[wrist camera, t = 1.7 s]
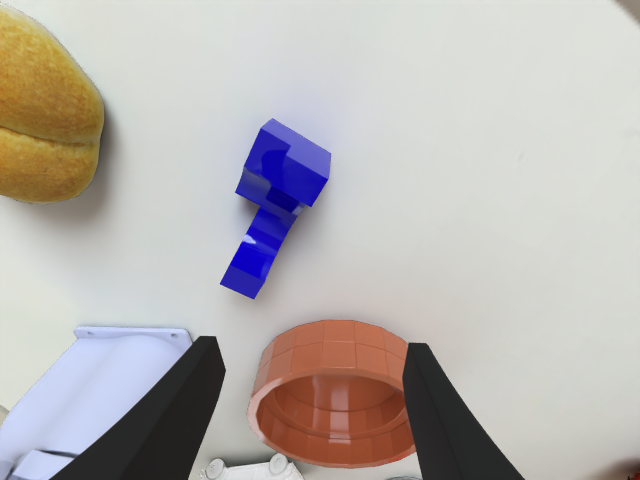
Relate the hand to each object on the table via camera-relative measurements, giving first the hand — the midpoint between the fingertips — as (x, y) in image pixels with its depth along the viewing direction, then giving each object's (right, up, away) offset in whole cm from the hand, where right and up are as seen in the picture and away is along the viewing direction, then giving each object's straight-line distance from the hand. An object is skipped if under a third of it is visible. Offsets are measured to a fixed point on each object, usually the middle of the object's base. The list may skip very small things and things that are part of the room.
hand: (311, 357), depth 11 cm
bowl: (+2, -7, +14) cm, 16 cm away
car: (-7, -23, +25) cm, 35 cm away
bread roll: (-15, +11, +5) cm, 19 cm away
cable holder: (-3, +7, +6) cm, 10 cm away
